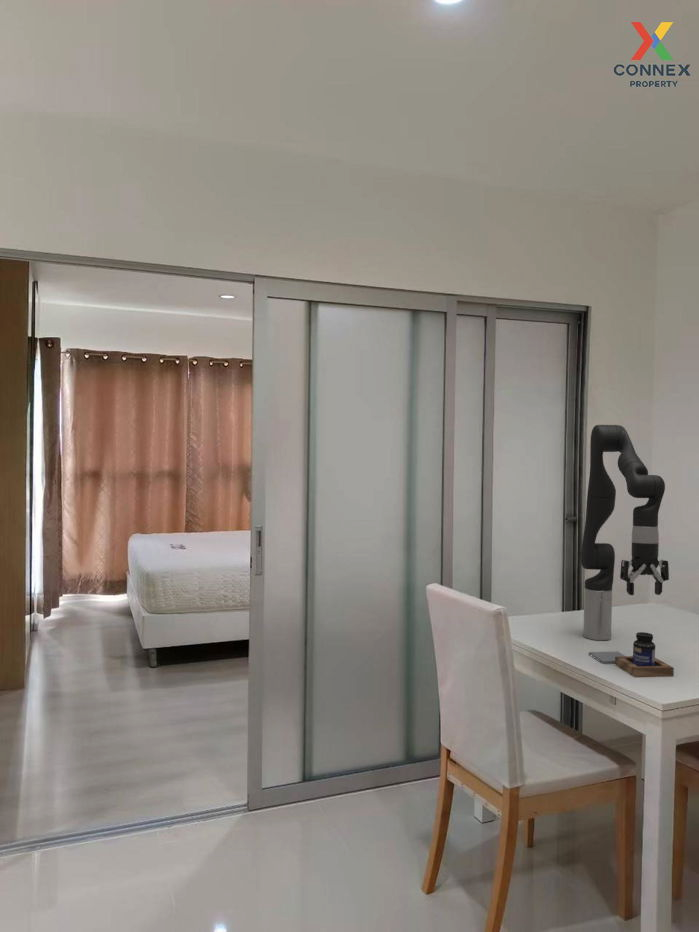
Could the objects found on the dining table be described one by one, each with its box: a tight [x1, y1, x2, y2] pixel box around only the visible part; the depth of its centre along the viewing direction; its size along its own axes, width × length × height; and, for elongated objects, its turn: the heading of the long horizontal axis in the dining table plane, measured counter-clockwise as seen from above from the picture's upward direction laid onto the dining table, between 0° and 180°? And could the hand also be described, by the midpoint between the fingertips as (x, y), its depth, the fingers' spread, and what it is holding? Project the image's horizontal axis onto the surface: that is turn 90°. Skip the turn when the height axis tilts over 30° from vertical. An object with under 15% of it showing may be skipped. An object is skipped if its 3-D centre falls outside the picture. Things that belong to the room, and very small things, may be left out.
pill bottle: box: [632, 631, 656, 666], centre depth 216 cm, size 6×6×11 cm
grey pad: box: [588, 651, 626, 664], centre depth 228 cm, size 10×10×1 cm
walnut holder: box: [614, 655, 675, 678], centre depth 216 cm, size 12×12×2 cm
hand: (644, 594), depth 217 cm, fingers open, 8 cm apart
